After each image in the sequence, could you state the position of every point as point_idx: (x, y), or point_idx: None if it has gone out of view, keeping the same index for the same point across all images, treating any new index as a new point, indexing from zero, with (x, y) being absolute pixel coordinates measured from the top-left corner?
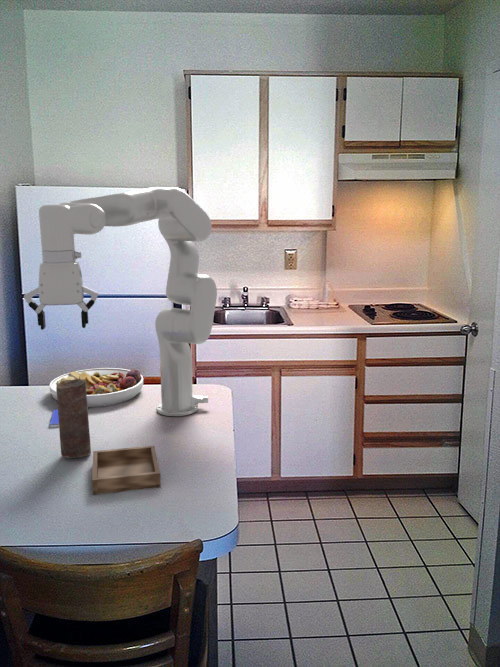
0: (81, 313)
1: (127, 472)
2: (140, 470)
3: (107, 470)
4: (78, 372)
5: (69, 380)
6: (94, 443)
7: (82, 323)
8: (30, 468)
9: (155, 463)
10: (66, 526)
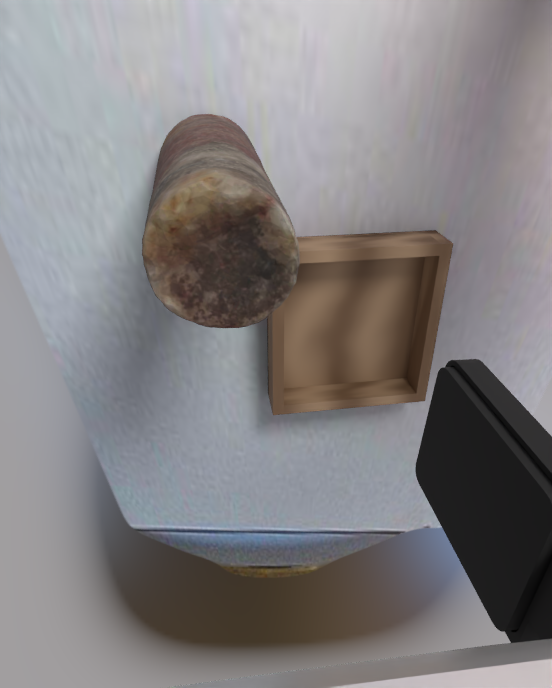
0: (499, 626)
1: (352, 322)
2: (384, 316)
3: (304, 305)
4: None
5: (207, 201)
6: (263, 57)
7: (440, 508)
8: (77, 233)
9: (426, 354)
10: (224, 488)
